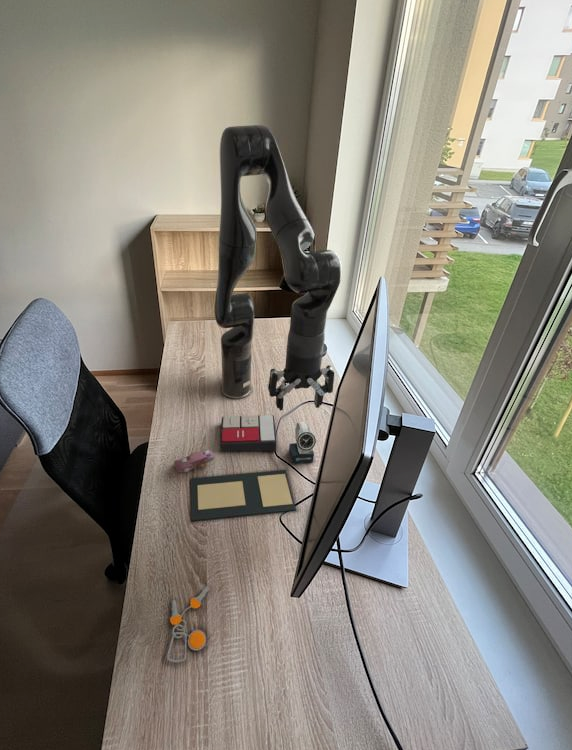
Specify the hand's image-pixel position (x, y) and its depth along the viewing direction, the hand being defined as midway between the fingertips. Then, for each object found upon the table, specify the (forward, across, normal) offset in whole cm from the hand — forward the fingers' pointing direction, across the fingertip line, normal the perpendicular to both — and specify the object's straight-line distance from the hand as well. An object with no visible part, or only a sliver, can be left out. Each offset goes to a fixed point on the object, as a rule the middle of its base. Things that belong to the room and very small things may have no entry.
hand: (298, 406), depth 92 cm
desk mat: (+20, +14, +7) cm, 26 cm away
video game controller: (+20, +25, -2) cm, 32 cm away
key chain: (+20, +27, +35) cm, 48 cm away
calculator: (+20, +10, -12) cm, 25 cm away
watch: (+20, -3, -3) cm, 21 cm away
